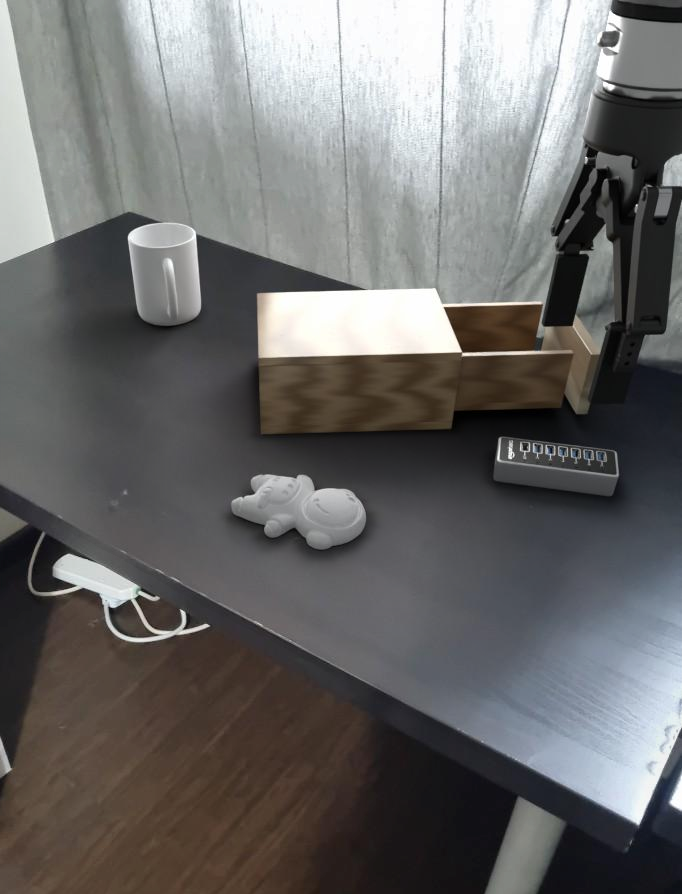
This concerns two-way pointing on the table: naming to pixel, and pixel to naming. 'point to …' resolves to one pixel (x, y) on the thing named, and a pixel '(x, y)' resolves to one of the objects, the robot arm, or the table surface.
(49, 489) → the table surface
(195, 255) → the cup
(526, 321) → the drawer
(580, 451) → the multiport hub
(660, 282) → the robot arm
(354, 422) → the cabinet
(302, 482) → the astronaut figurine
